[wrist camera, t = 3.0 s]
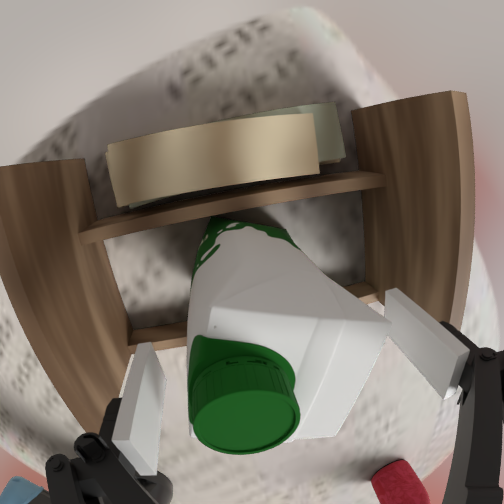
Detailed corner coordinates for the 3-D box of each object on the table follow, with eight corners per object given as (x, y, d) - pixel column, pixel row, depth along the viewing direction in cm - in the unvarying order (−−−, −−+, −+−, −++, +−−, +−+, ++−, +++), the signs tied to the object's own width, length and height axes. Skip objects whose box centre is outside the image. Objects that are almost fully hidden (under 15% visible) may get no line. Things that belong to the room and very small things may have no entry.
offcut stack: (124, 207, 26) (103, 221, 20) (111, 149, 24) (87, 148, 19) (332, 164, 28) (361, 167, 22) (323, 107, 26) (350, 97, 20)
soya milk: (202, 204, 27) (194, 318, 8) (298, 221, 29) (439, 335, 10) (188, 292, 29) (176, 477, 10) (277, 304, 31) (354, 469, 12)
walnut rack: (124, 339, 30) (91, 438, 17) (70, 163, 24) (-25, 177, 10) (376, 286, 32) (454, 353, 19) (364, 110, 26) (466, 92, 13)
